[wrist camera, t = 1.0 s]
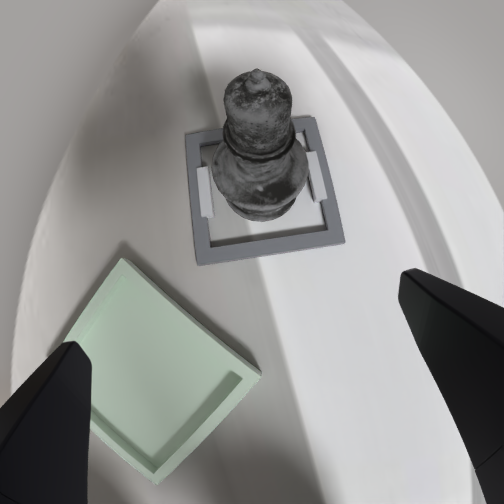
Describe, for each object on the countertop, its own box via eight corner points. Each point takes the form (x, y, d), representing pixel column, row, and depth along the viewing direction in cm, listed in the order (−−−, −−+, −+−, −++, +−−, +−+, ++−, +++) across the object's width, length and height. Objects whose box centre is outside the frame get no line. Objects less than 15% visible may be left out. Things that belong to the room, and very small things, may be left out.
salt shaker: (244, 138, 22) (228, 13, 11) (315, 170, 22) (355, 54, 10) (204, 203, 22) (147, 102, 10) (279, 240, 21) (298, 161, 9)
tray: (261, 371, 20) (261, 377, 18) (162, 476, 18) (157, 485, 17) (130, 260, 21) (121, 257, 20) (53, 373, 20) (42, 376, 18)
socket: (343, 243, 21) (346, 241, 20) (198, 266, 21) (196, 264, 20) (313, 120, 23) (315, 114, 22) (186, 138, 23) (184, 133, 22)
